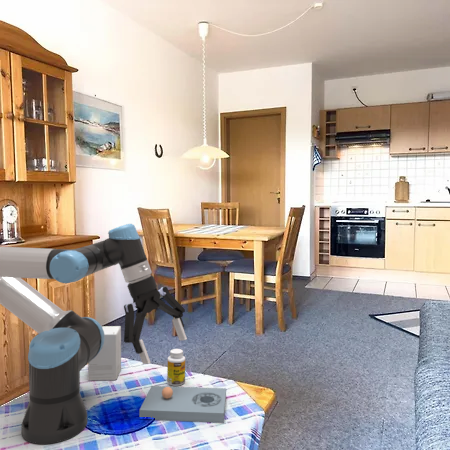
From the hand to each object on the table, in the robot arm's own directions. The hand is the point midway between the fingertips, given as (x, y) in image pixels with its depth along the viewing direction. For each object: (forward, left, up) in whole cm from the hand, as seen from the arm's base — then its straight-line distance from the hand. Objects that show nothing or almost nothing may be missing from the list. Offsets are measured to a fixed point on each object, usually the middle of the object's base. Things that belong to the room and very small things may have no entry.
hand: (165, 351), depth 112 cm
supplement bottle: (+1, +14, -16) cm, 21 cm away
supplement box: (-23, +18, -16) cm, 34 cm away
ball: (+1, -1, -11) cm, 11 cm away
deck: (+6, -1, -15) cm, 16 cm away
